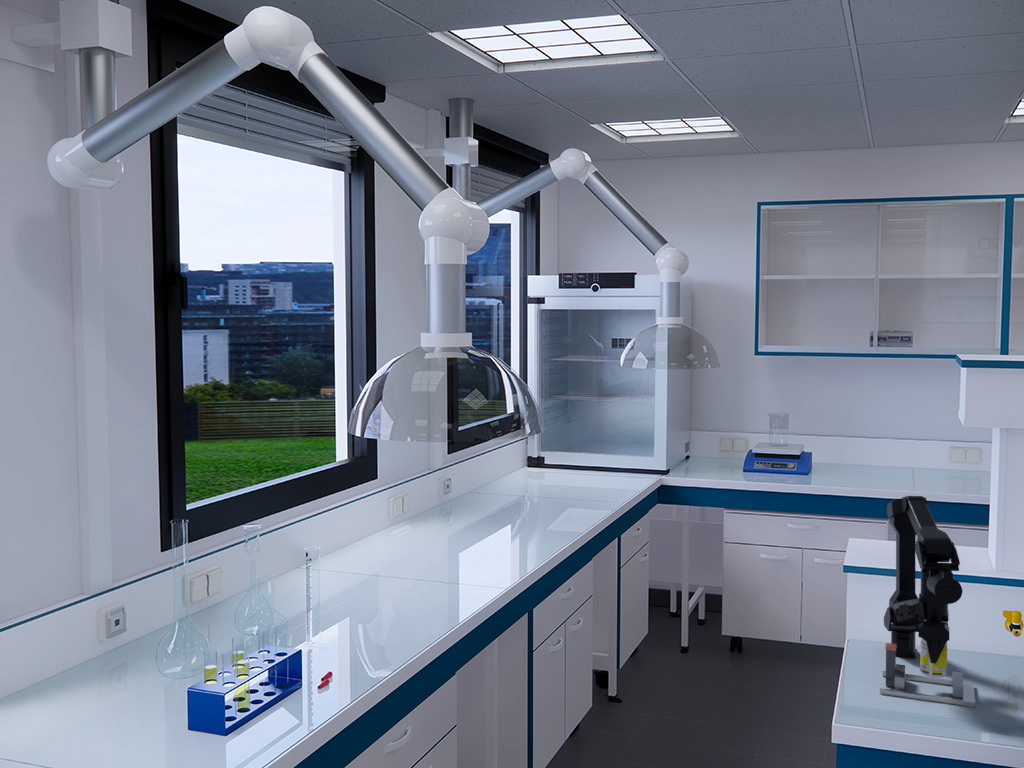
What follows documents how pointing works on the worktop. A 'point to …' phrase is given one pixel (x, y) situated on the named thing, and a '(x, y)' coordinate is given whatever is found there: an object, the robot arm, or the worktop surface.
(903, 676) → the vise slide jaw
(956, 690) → the frame
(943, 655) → the supplement bottle
